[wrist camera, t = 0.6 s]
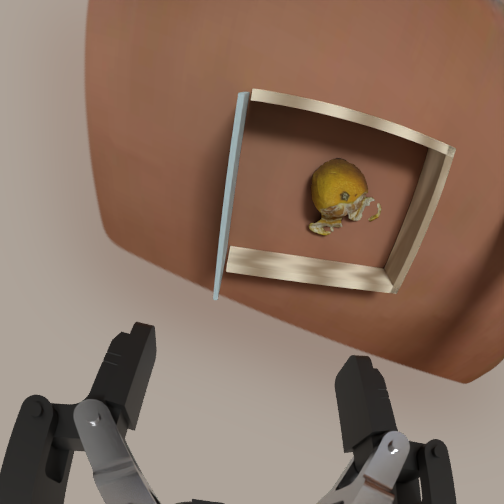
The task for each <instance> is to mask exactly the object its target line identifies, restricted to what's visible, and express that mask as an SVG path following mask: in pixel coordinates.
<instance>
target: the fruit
mask: <svg viewBox="0 0 504 504" xmlns="http://www.w3.org/2000/svg"><path fill="white" fill-rule="evenodd" d="M366 193H368V187H367V183H366V180H365V178H364V175H363V174H362V173H361V171H360V170H359V169H358V168H357V167H356V166H355V165H354V164H351V163H349V162H347V161H346V160H344V159H341V158H336V159H333V160H330V161H329V162H326V163H324V164H323V165H321V166H320V167H319V169H318V170H317V171H315V172H314V174H313V176H312V185H311V195H312V201H313V202H314V205H315V207H316V208H317V209H318V211H319V212H321V216H322V217H321V220H320V221H319V222H317V223H310V225H309V229H310V230H311V231H313V232H315V233H318V234H321V235H329V234H330V233H331V232H328V231H325V230H324V229H323V226H328V227H330V230H331V231H334V230H333V227H342V224H341V220H342V216H346V215H347V214H348V215H349V218H350V219H352V220H353V221H354V220H356V221H358V220H360V219H361V217H362V212H363V210H364V208H365V206H369V205H370V204H369V203H370V202H371V201H375V200H374V199H373V197H372V198H370V197H369V198H367V197H365V195H366ZM377 207H378V208H379V209H378V213H377V214H376V215H374V216H371V218H369V219H368V220H369V221H372V220H374V219H376V218H378V216H379V215H380V212H381V206H380V204H379V203H378V205H377Z"/></svg>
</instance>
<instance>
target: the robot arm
mask: <svg viewBox="0 0 504 504" xmlns="http://www.w3.org/2000/svg"><path fill="white" fill-rule="evenodd" d="M155 358H156V338H155V327H154V326H152V325H148V324H143V323H140V322H136V323H135V324H134V326H133V328H132V330H131V333H130V334H128V333H124V332H121V333H120V334H118V335H117V336H116V337H115V338H114V339H113V340H112V342H111V344H110V346H109V349H108V351H107V353H106V355H105V357H104V361H103V362H102V364H101V367H100V369H99V371H98V374H97V376H96V379H95V381H94V384H93V386H92V389H91V391H90V393H89V395H88V396H87V397H86V398H85V399H84V400H83V401H82V402H80V403H77V404H72V405H71V404H70V405H69V404H68V405H67V404H54V403H50V402H49V401H48V399H46V398H45V397H43V396H40V395H32V396H30V397H28V398H26V399H25V401H24V402H23V404H22V406H21V409H20V412H19V414H18V417H17V419H16V423H15V425H14V428H13V431H12V434H11V437H10V440H9V444H8V447H7V450H6V454H5V457H4V461H3V465H2V468H1V472H0V504H64V498H65V492H66V486H67V482H68V476H69V472H70V467H71V463H72V459H73V454H74V451H85V452H86V455H87V457H88V459H89V462H90V464H91V466H92V469H93V478H94V481H95V483H96V486H97V488H98V490H99V492H100V494H101V496H102V498H103V500H104V502H105V503H106V504H161V503H160V501H159V500H158V498H157V497H156V495H155V494H154V492H153V490H152V489H151V487H150V485H149V484H148V482H147V480H146V479H145V477H144V475H143V474H142V472H141V470H140V468H139V466H138V465H137V463H136V461H135V459H134V457H133V455H132V453H131V451H130V449H129V447H128V445H127V443H126V441H125V436H126V432H127V429H131V430H135V428H136V424H137V421H138V417H139V413H140V410H141V406H142V403H143V399H144V396H145V392H146V389H147V386H148V382H149V378H150V375H151V372H152V369H153V366H154V362H155ZM386 389H387V388H386V384H385V381H384V378H383V376H382V375H381V373H380V372H379V371H378V369H374V368H373V366H372V362H371V359H370V358H369V357H368V356H355V355H352V356H350V357H349V359H348V360H347V362H346V363H345V364H344V366H343V367H342V369H341V370H340V372H339V373H338V375H337V376H336V380H335V392H336V398H337V404H338V410H339V418H340V424H341V432H342V440H343V448H344V453H347V452H353V454H354V457H353V458H352V459H351V461H350V462H349V464H348V465H347V467H346V469H345V470H344V471H343V473H342V474H341V476H340V478H339V479H338V481H337V482H336V483H335V485H334V486H333V488H332V489H331V490H330V491H329V492H328V493H327V494H326V495H325V496H324V497H323V498H322V499H321V500H320V501H319V502H318V503H317V504H456V496H455V489H454V482H453V476H452V470H451V464H450V459H449V455H448V450H447V447H446V445H445V444H444V443H443V442H442V441H441V440H438V439H433V440H431V441H429V442H428V443H427V444H422V443H417V442H411V441H408V439H407V437H406V436H405V435H404V434H403V433H401V432H398V430H397V427H396V423H395V419H394V415H393V411H392V407H391V403H390V399H389V395H388V392H387V391H386ZM419 477H420V480H421V488H422V502H421V496H420V487H419V479H418V478H419ZM176 504H224V503H218V502H210V501H203V500H196V499H192V502H181V503H176Z"/></svg>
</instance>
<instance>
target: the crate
mask: <svg viewBox="0 0 504 504" xmlns="http://www.w3.org/2000/svg"><path fill="white" fill-rule="evenodd" d="M251 100H253V101H260V102H266V103H272V104H278V105H283V106H289V107H294V108H299V109H304V110H308V111H313V112H317V113H321V114H326V115H330V116H334V117H338V118H341V119H345V120H349V121H352V122H356V123H359V124H363V125H366V126H370V127H373V128H376V129H379V130H382V131H385V132H388V133H391V134H394V135H397V136H400V137H403V138H406V139H408V140H411V141H414V142H416V143H419V144H422V145H424V146H427V147H429V148H428V152H427V155H426V159H425V162H424V165H423V168H422V172H421V175H420V178H419V181H418V184H417V187H416V190H415V193H414V195H413V198H412V201H411V204H410V206H409V209H408V212H407V214H406V217H405V220H404V222H403V225H402V227H401V230H400V232H399V235H398V237H397V240H396V242H395V244H394V247H393V249H392V251H391V254H390V256H389V258H388V261H387V263H386V265H385V267H384V269H382V268H376V267H369V266H362V265H356V264H349V263H342V262H336V261H329V260H322V259H316V258H309V257H302V256H295V255H289V254H282V253H275V252H268V251H261V250H255V249H248V248H241V247H234V246H230V251H229V256H228V262H227V269H226V272H231V273H238V274H245V275H252V276H259V277H266V278H274V279H281V280H288V281H296V282H304V283H311V284H319V285H327V286H335V287H343V288H352V289H360V290H369V291H377V292H386V293H395V294H397V292H398V290H399V288H400V286H401V284H402V282H403V280H404V278H405V276H406V274H407V272H408V270H409V268H410V266H411V264H412V262H413V260H414V258H415V256H416V254H417V251H418V249H419V247H420V245H421V243H422V240H423V238H424V236H425V233H426V231H427V229H428V226H429V224H430V221H431V219H432V216H433V214H434V211H435V209H436V206H437V204H438V201H439V198H440V196H441V193H442V190H443V187H444V184H445V182H446V179H447V176H448V173H449V169H450V166H451V163H452V160H453V157H454V153H455V150H456V148H453V147H451V146H449V145H447V144H445V143H443V142H440V141H438V140H436V139H434V138H431V137H429V136H426V135H424V134H422V133H419V132H417V131H414V130H411V129H409V128H406V127H403V126H401V125H398V124H395V123H392V122H390V121H387V120H384V119H381V118H378V117H375V116H372V115H368V114H365V113H362V112H358V111H355V110H352V109H348V108H344V107H341V106H337V105H333V104H329V103H325V102H321V101H317V100H313V99H308V98H303V97H299V96H294V95H289V94H283V93H278V92H272V91H266V90H260V89H253V90H252V96H251Z"/></svg>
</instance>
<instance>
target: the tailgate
mask: <svg viewBox="0 0 504 504" xmlns="http://www.w3.org/2000/svg"><path fill="white" fill-rule="evenodd" d="M249 94H250V92H241V93H238V100H237V106H236V113H235V119H234V126H233V133H232V140H231V147H230V155H229V162H228V170H227V178H226V185H225V194H224V202H223V210H222V219H221V227H220V236H219V246H218V255H217V265H216V275H215V285H214V297H213V299H214V300H218V295H219V290H220V285H221V279H222V274H223V269H224V264H225V258H226V253H227V246H228V238H229V230H230V223H231V215H232V208H233V200H234V193H235V186H236V179H237V172H238V165H239V158H240V151H241V145H242V138H243V132H244V125H245V119H246V112H247V106H248V100H249Z"/></svg>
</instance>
